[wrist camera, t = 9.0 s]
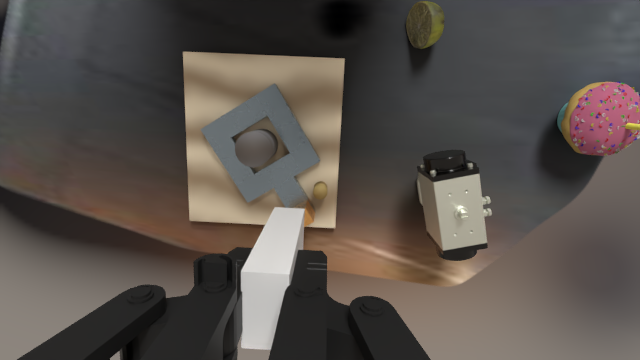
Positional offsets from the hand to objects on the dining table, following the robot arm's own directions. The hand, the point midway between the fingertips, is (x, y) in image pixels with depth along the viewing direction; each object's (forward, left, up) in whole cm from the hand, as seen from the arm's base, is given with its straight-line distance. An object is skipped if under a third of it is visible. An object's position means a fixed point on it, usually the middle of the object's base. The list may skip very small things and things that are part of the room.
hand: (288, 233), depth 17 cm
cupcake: (-6, +33, -29) cm, 45 cm away
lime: (-16, +12, -29) cm, 35 cm away
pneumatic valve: (+4, +16, -29) cm, 33 cm away
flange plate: (+1, -5, -27) cm, 28 cm away
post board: (-1, -7, -29) cm, 29 cm away
